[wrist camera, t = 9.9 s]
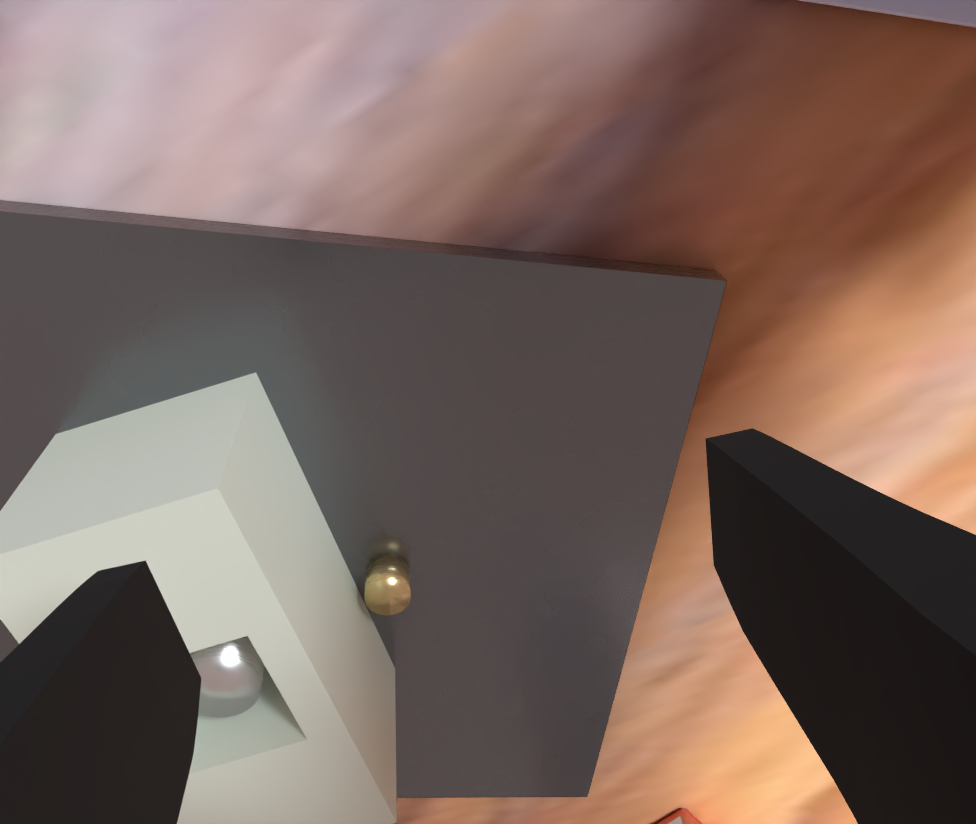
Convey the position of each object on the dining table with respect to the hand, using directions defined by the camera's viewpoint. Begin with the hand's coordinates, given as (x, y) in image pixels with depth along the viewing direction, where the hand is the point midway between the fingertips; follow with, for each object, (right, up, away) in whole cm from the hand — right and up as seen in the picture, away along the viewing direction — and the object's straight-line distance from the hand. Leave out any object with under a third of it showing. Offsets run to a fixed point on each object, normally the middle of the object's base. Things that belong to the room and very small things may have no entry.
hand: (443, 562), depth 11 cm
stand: (-6, -2, +12) cm, 14 cm away
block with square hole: (-6, -2, +11) cm, 13 cm away
